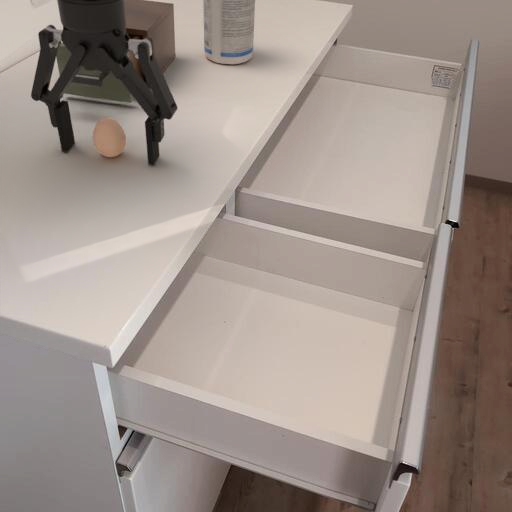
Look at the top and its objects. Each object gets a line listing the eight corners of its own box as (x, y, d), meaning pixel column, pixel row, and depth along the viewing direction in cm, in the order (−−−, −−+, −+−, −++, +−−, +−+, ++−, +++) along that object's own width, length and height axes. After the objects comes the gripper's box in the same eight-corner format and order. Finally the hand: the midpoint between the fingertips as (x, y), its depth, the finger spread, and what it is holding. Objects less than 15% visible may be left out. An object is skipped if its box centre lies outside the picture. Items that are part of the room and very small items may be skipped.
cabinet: (151, 88, 94) (147, 30, 88) (80, 78, 95) (71, 20, 89) (175, 57, 105) (173, 3, 99) (112, 48, 106) (106, -5, 100)
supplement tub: (259, 53, 109) (265, -27, 100) (240, 70, 102) (244, -15, 93) (216, 44, 112) (217, -35, 102) (194, 59, 105) (193, -24, 95)
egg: (132, 159, 77) (128, 122, 73) (102, 166, 75) (96, 129, 71) (120, 144, 79) (116, 108, 76) (90, 151, 78) (85, 115, 74)
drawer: (120, 117, 84) (114, 66, 79) (48, 106, 85) (38, 56, 80) (157, 70, 98) (154, 25, 92) (95, 62, 99) (89, 17, 94)
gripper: (-27, -14, 61) (17, 154, 75) (182, 11, 59) (186, 180, 73) (7, -31, 67) (42, 129, 81) (199, -8, 64) (200, 152, 79)
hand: (111, 154), depth 77 cm, fingers open, 12 cm apart
